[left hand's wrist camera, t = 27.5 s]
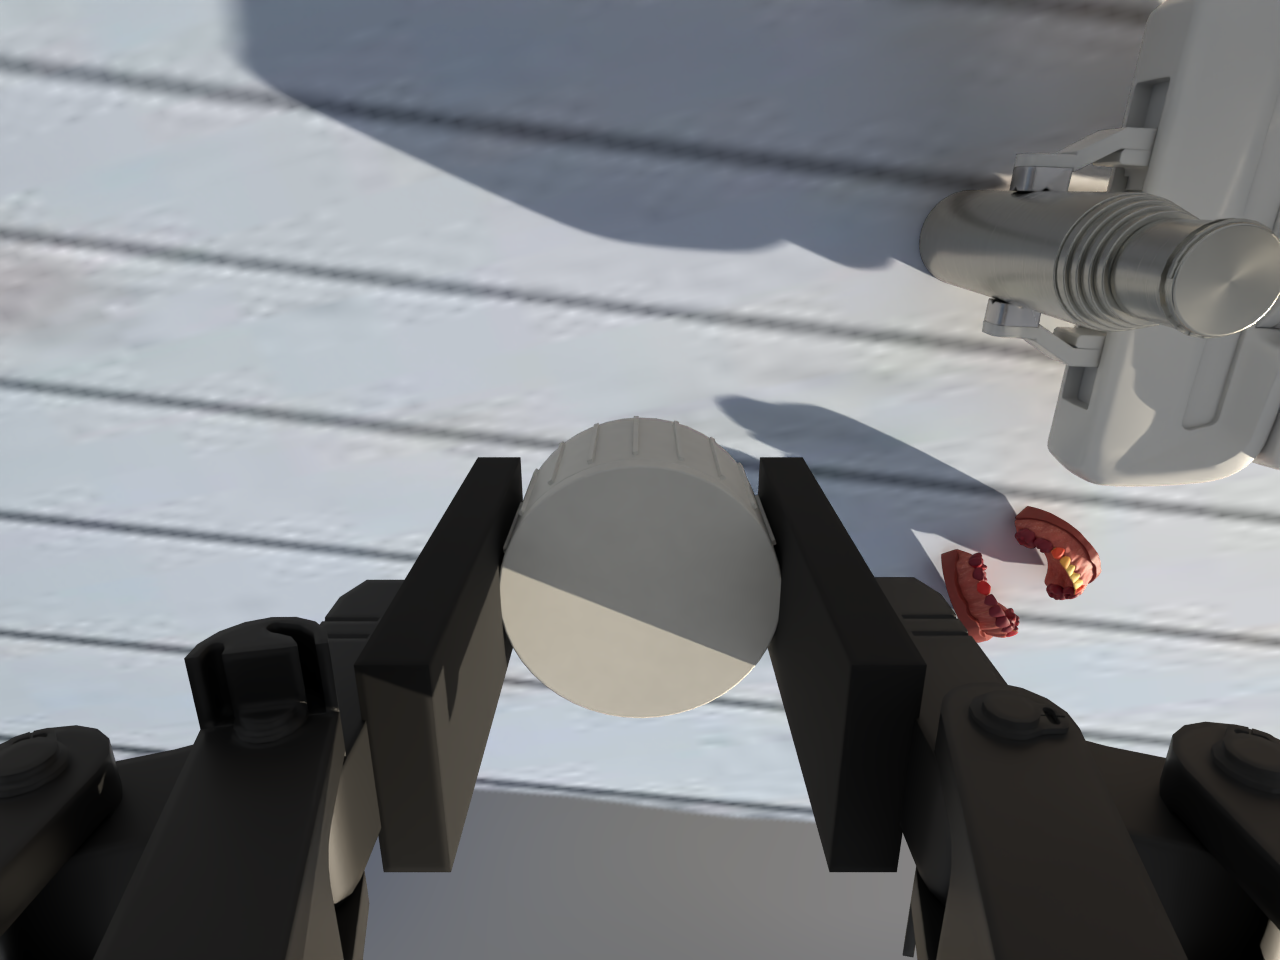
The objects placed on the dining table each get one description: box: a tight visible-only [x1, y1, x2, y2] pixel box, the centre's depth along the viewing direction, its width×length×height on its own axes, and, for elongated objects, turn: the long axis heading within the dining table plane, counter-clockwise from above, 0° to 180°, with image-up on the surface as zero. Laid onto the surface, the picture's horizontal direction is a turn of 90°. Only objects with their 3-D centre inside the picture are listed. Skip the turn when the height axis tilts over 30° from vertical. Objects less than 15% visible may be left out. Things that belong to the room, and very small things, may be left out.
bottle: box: [919, 190, 1280, 339], centre depth 31 cm, size 5×5×19 cm
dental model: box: [941, 506, 1101, 643], centre depth 44 cm, size 6×4×8 cm
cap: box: [499, 416, 781, 718], centre depth 13 cm, size 4×4×3 cm
